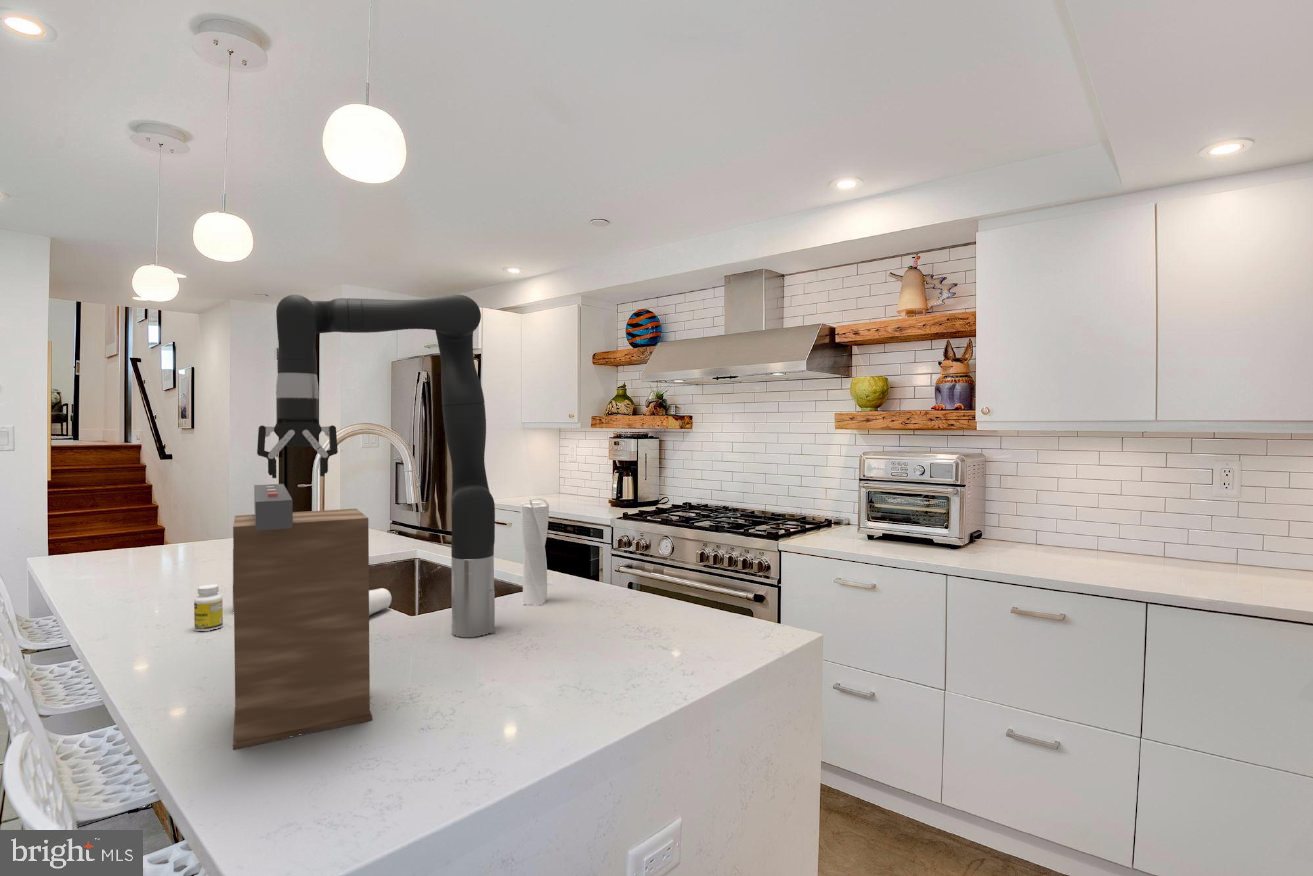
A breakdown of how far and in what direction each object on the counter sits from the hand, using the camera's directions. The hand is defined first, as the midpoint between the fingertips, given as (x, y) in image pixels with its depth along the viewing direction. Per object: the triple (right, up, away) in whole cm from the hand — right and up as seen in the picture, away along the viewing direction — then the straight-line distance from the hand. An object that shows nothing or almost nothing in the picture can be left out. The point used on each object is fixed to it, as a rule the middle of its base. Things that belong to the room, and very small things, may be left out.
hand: (298, 477), depth 136 cm
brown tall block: (+16, -37, -28) cm, 49 cm away
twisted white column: (+40, -36, +41) cm, 67 cm away
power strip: (+11, -5, -29) cm, 31 cm away
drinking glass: (+3, -33, +35) cm, 48 cm away
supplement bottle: (-30, -36, +18) cm, 50 cm away
